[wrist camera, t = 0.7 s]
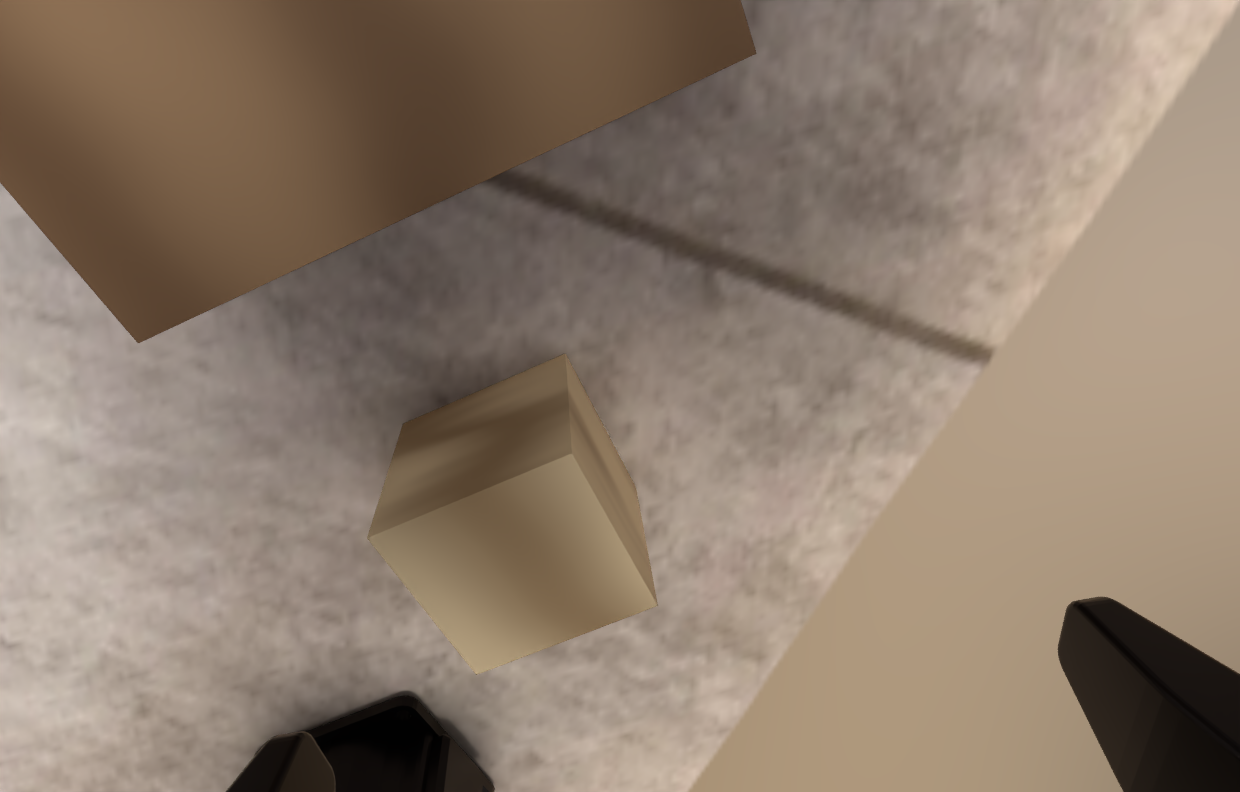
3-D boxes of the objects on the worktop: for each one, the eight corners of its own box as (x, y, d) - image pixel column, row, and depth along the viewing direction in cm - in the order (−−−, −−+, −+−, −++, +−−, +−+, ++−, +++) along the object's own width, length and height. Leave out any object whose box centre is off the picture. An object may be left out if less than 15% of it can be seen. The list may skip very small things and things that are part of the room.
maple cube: (488, 545, 23) (476, 674, 19) (403, 422, 21) (367, 538, 16) (635, 485, 23) (657, 605, 18) (565, 352, 20) (571, 453, 16)
